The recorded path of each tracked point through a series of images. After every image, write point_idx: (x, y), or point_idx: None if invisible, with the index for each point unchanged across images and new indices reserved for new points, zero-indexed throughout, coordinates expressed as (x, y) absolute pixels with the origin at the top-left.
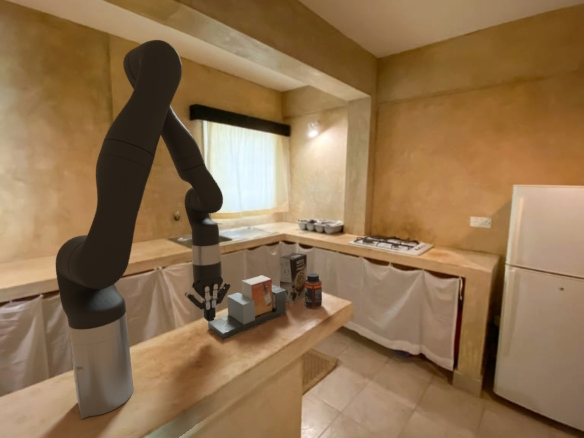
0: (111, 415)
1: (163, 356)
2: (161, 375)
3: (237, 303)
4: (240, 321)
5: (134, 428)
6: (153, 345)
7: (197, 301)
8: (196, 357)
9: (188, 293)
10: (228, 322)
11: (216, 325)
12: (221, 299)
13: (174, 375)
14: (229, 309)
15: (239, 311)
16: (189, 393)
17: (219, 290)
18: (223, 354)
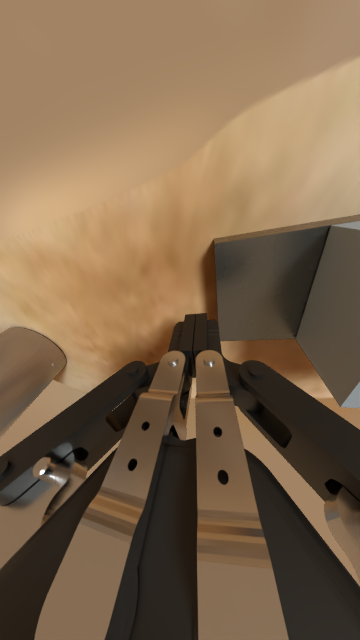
0: None
1: (88, 307)
2: (96, 350)
3: (355, 366)
4: (302, 325)
5: (86, 392)
6: (48, 242)
7: (111, 440)
8: (150, 344)
9: (11, 510)
10: (271, 298)
11: (227, 292)
12: (266, 413)
13: (114, 360)
14: (347, 250)
15: (324, 349)
16: None
17: (321, 454)
18: None
